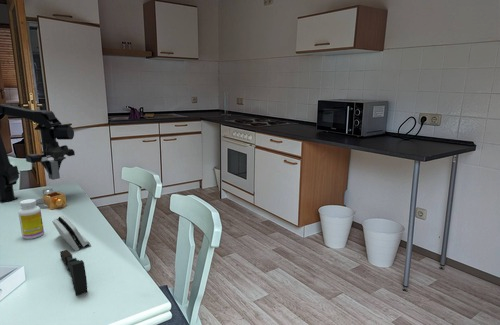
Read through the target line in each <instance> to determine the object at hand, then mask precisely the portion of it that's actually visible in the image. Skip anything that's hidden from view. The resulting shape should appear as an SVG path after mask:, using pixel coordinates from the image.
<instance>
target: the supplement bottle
mask: <svg viewBox="0 0 500 325" xmlns="http://www.w3.org/2000/svg"><path fill="white" fill-rule="evenodd" d="M36 200H37V199H36V198H28V199H24V200H21V201H20V202H19V203H20V207H21V208H19V210H18V212H17V213H18V219H19V225H20V231H21V237H22V238H23V239H25V240H32V239H36V238H39V237H41V236H43V235H44V233H45V230H44V223H43V217H42V209H40V207H38V206H36Z"/></svg>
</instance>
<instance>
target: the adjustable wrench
mask: <svg viewBox="0 0 500 325" xmlns="http://www.w3.org/2000/svg"><path fill="white" fill-rule="evenodd" d="M59 254H60V258H61V262H63V263H64V265H65V266H66V267H67V268H66V269H67V271H68V273H69V274H70V278H71V281H72V286H73V290H74V292H75V296H76V297H77V296H80V295H83V294H86V293H88V281H87V273H86V267H85V262H84V260H82V259H80V260H79V259H78V258H77V257H73V254H71V252H70V251H69V250H68V249H64V250H60V253H59Z"/></svg>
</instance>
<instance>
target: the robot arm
mask: <svg viewBox="0 0 500 325" xmlns="http://www.w3.org/2000/svg"><path fill="white" fill-rule="evenodd" d="M6 116H11V117H16V118H22V119H26V120H29V121H31V122H33V123H35V124H37V126H35V128H34V130H35V131H39V134H40V140H41V141H40V145H41V146H42V151H41V154H39V153H31V154H27V155H26V156H25V161H26V162H27V163H31V164H34V163H40V164H41V165H42V166H43V167H44V169H45V171H46V172H47V174H49V175H51V170H50V166H49V162H50V160H49V158H52V159H53V160H56V161H58V167H59V170H60V169H61V165H62V162H63V161H64V160H66V159H67V157H73V156H75V150H74V149H72V148H69V147H68V145H66V144H64V145H61V146H60V144H59V142H58V141H59V140H62V141H63V140H73V138H74V137H75V130H74V129H73V127H72V126H71V124H70V123H66V124H65V123H62V122H61V121H60V120H59V119H58V118H57V117H56V115H55V113H54V111H52V110H45V109H44V110H42V109H40V110H35V109H34V110H33V109H28V108H24V107H18V106H13V105H9V104H6V103H3V104H0V130H1V128H2V123H1V120H3V119H4V118H6ZM57 140H58V141H57ZM3 141H4V140H3V138H2V135H1V134H0V203H5V202H10V201H15V200H18V199H19V197H17V196H15V191H14V186H15V185H16V184H17V183H18V180H19V178H20V174H21V173H20V171H19V168H18V166H17V165H13V164H12V163H11V161H10V159H9V156H8V152H7V150H6V147H5V145H4V142H3ZM65 155H66V156H67V157H65Z"/></svg>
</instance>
